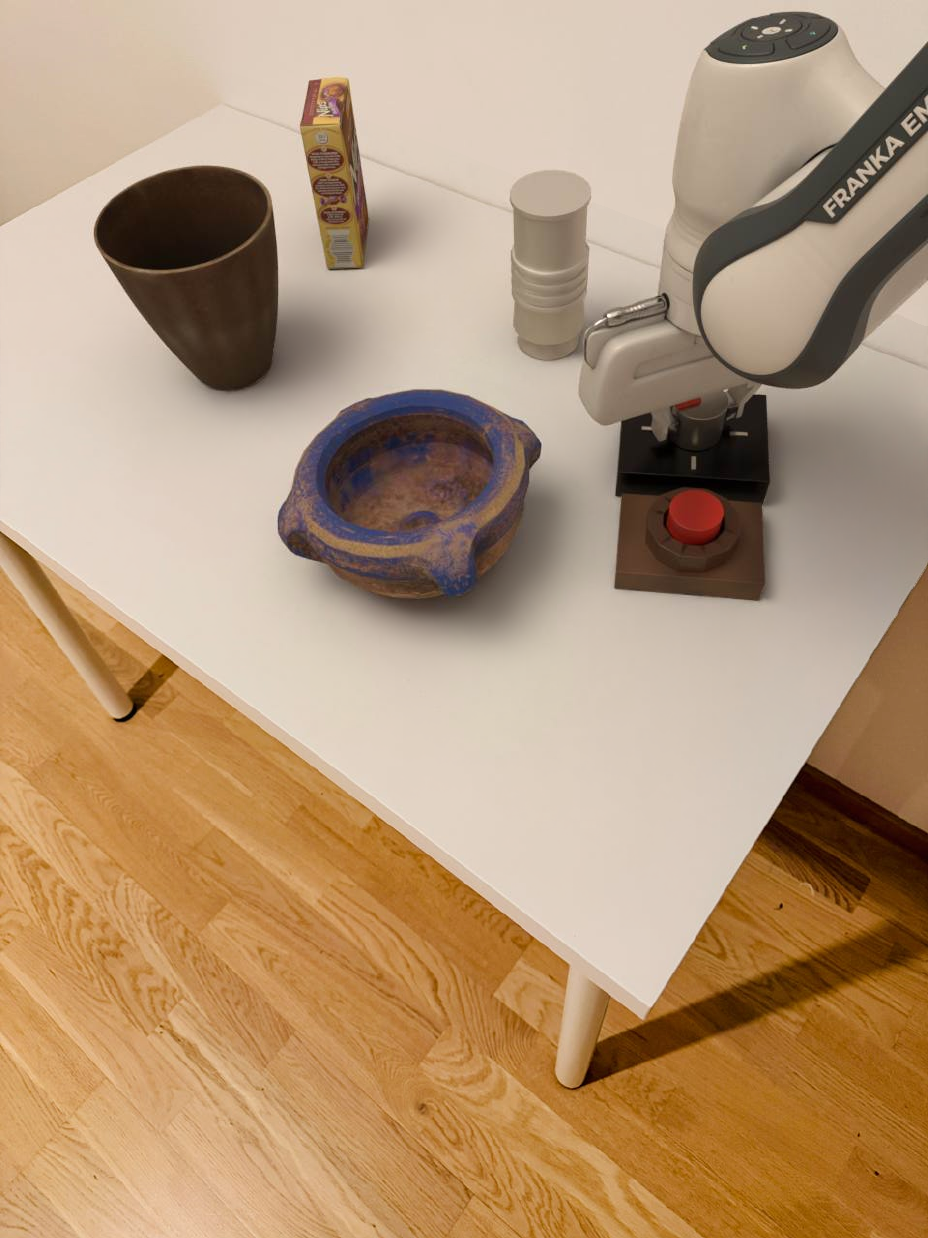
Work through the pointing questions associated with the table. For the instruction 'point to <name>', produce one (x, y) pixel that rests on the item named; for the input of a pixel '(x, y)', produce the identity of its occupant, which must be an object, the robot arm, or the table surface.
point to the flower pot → (199, 267)
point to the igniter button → (695, 517)
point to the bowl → (411, 492)
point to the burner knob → (700, 421)
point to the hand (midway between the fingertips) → (696, 424)
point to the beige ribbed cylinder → (549, 261)
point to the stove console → (698, 458)
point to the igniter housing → (690, 550)
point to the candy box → (335, 171)
